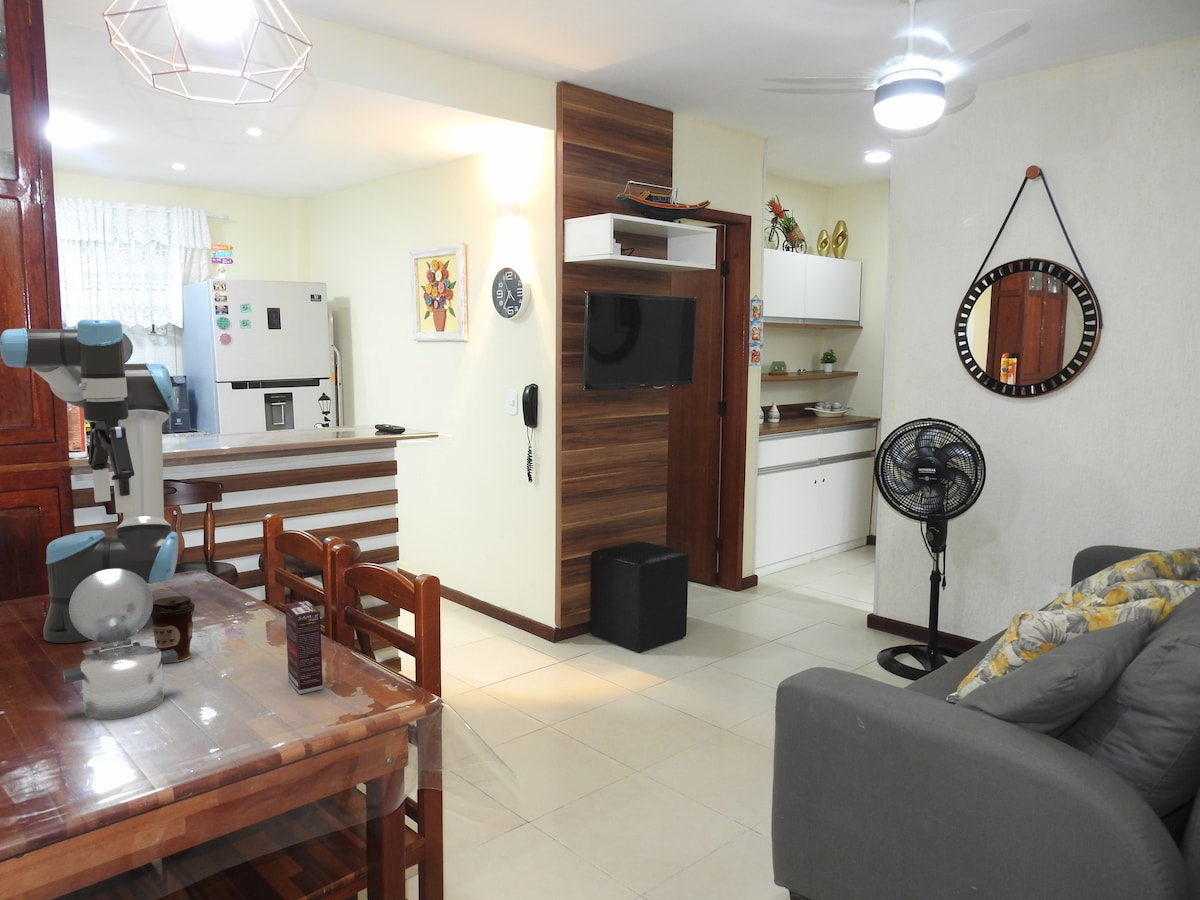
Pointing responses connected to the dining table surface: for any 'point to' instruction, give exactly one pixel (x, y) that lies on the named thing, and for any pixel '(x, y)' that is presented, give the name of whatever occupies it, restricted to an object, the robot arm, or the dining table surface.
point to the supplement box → (304, 647)
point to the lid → (111, 607)
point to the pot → (121, 681)
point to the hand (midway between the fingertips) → (113, 506)
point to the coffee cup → (173, 625)
